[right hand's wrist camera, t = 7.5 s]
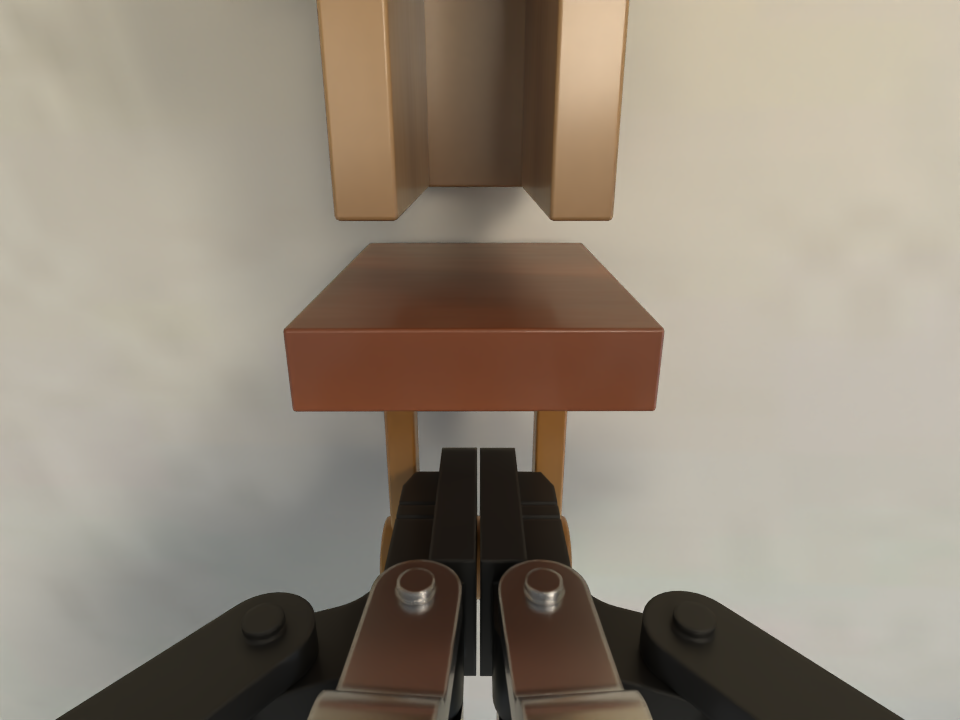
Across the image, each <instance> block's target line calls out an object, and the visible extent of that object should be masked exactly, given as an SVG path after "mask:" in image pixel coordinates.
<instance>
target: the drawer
mask: <svg viewBox="0 0 960 720" xmlns="http://www.w3.org/2000/svg"><path fill="white" fill-rule="evenodd" d="M317 12H318V24H319V36H320V48H321V60H322V72H323V84H324V96H325V108H326V120H327V131H328V143H329V155H330V167H331V179H332V191H333V203H334V215H335V218H336V219H337V220H339V221H394V220H396V219H398V218H399V217H400V216H401V215H402V214H403V213H404V211H405V210H406V209H407V208H408V207H409V206H410V205H411V204H412V203H413V202H414V201H415V200H416V199H417V198H418V197H419V196H420V195H421V194H422V193H423V192H424V191H425V190H426V189H427V188H428V187H523V188H524V189H525V190H526V192H527V193H528V194H529V195H530V196H531V197H532V199H533V200H534V201H535V202H536V203H537V204H538V206H539V207H540V208H541V209H542V210H543V211H544V213H545V214H546V215H547V216H548V217H549V218H550V219H551V220H553V221H609V220H611V219H612V217H613V208H614V195H615V182H616V169H617V156H618V143H619V130H620V117H621V103H622V90H623V77H624V64H625V51H626V38H627V25H628V12H629V0H317ZM283 332H284V340H285V349H286V357H287V365H288V373H289V382H290V390H291V398H292V406H293V410H294V411H384V419H385V435H386V451H387V467H388V483H389V499H390V515H391V516H389V517H387V519H386V521H385V524H384V528H383V533H382V541H381V552H380V574H381V573H382V572H384V569H385V564H386V559H387V555H388V550H389V546H390V541H391V537H392V532H393V528H394V523H395V519H396V514H397V510H398V505H399V501H400V496H401V492H402V487H403V485H404V484H405V483H406V482H407V481H408V480H409V479H410V478H411V477H412V476H413V474H414V473H415V472H420V469H419V445H418V420H417V411H534V429H533V458H532V472H541V473H542V474H543V475H544V476H545V477H546V478H547V479H548V480H549V481H550V482H551V483H552V484H553V485H554V488H555V493H556V498H557V505H558V507H559V512H560V519H561V521H562V526H563V531H564V535H565V540H566V545H567V549H568V554H569V559H570V564H571V568H572V556H571V542H570V534H569V528H568V524H567V521H566V519H565V517H564V516H561V512H562V494H563V476H564V458H565V441H566V423H567V411H654V410H655V408H656V401H657V392H658V383H659V374H660V366H661V357H662V348H663V339H664V328H663V327H662V326H661V325H660V324H659V323H658V322H657V321H656V320H655V319H654V318H653V317H652V316H651V315H650V314H649V313H648V312H647V311H646V310H645V309H644V308H643V307H642V306H641V305H640V304H639V302H638V301H637V300H636V299H635V298H634V297H633V296H632V295H631V294H630V293H629V292H628V291H627V290H626V289H625V288H624V287H623V286H622V285H621V284H620V283H619V282H618V281H617V280H616V279H615V277H614V276H613V275H612V274H611V273H610V272H609V271H608V270H607V269H606V268H605V267H604V266H603V265H602V264H601V263H600V262H599V261H598V260H597V259H596V258H595V257H594V256H593V255H592V254H591V252H590V251H589V250H588V249H587V248H586V247H585V246H584V245H583V244H582V243H370V244H369V245H368V246H367V247H366V248H365V249H364V250H363V251H362V252H361V253H360V254H359V255H358V256H357V257H356V258H355V259H354V260H353V261H352V262H351V263H350V264H349V265H348V266H347V267H346V268H345V269H344V270H343V271H342V272H341V273H340V274H339V275H338V276H337V277H336V278H335V279H334V280H333V281H332V282H331V283H330V284H329V285H328V286H327V287H326V288H325V289H324V290H323V291H322V292H321V293H320V294H319V295H318V296H317V297H316V298H315V299H314V300H313V301H312V302H311V303H310V304H309V305H308V306H307V307H306V308H305V309H304V310H303V311H302V312H301V313H300V314H299V315H298V316H297V317H296V318H295V319H294V320H293V321H292V322H291V323H290V324H289V325H288V326H287V327H286V328H285V329H284V331H283ZM477 599H480V516H477Z"/></svg>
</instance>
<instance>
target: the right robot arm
mask: <svg viewBox="0 0 960 720" xmlns="http://www.w3.org/2000/svg"><path fill="white" fill-rule="evenodd" d="M476 618H477V448H442V453H441V461H440V469H439V472H415V473H414V474H413V476H412V477H411V478H410V479H409V480H408V481H407V482H406V483H405V484H404V485H403V487H402V492H401V496H400V501H399V505H398V510H397V514H396V519H395V523H394V528H393V532H392V537H391V541H390V546H389V550H388V555H387V559H386V564H385V569H384V572H382V573H381V574H380V575H379V576H378V577H377V579H376V580H375V581H374V583H373V585H372V588H371V590H370V592H368V593H367V594H365V595H364V596H363V597H361V598H359V599H357V600H355V601H353V602H351V603H348V604H346V605H342V606H339V607H335V608H331V609H327V610H323V611H319V612H315V613H314V610H313V608H312V606H311V605H310V603H309V602H308V601H306V600H305V599H304V598H302V597H300V596H298V595H295V594H291V593H283V592H276V593H267V594H262V595H259V596H256V597H253V598H250V599H248V600H246V601H244V602H242V603H240V604H238V605H236V606H235V607H233V608H232V609H230V610H229V611H227V612H225V613H224V614H222V615H221V616H219V617H217V618H216V619H214V620H213V621H211V622H210V623H208V624H206V625H205V626H203V627H202V628H200V629H198V630H197V631H195V632H194V633H192V634H190V635H189V636H187V637H186V638H184V639H183V640H181V641H179V642H178V643H176V644H175V645H173V646H171V647H170V648H168V649H167V650H165V651H164V652H162V653H160V654H159V655H157V656H156V657H154V658H152V659H151V660H149V661H148V662H146V663H145V664H143V665H141V666H140V667H138V668H137V669H135V670H133V671H132V672H130V673H129V674H127V675H126V676H124V677H122V678H121V679H119V680H118V681H116V682H114V683H113V684H111V685H110V686H108V687H106V688H105V689H103V690H102V691H100V692H99V693H97V694H95V695H94V696H92V697H91V698H89V699H87V700H86V701H84V702H83V703H81V704H80V705H78V706H76V707H75V708H73V709H72V710H70V711H68V712H67V713H65V714H64V715H62V716H61V717H59V718H57V719H56V720H463V684H464V676H476ZM480 676H492V688H493V703H494V706H495V709H496V711H497V720H904V719H903V718H901V717H899V716H898V715H896V714H895V713H893V712H892V711H890V710H888V709H887V708H885V707H884V706H882V705H880V704H879V703H877V702H876V701H874V700H873V699H871V698H869V697H868V696H866V695H865V694H863V693H861V692H860V691H858V690H857V689H855V688H853V687H852V686H850V685H849V684H847V683H846V682H844V681H842V680H841V679H839V678H838V677H836V676H834V675H833V674H831V673H830V672H828V671H827V670H825V669H823V668H822V667H820V666H819V665H817V664H815V663H814V662H812V661H811V660H809V659H808V658H806V657H804V656H803V655H801V654H800V653H798V652H796V651H795V650H793V649H792V648H790V647H789V646H787V645H785V644H784V643H782V642H781V641H779V640H777V639H776V638H774V637H773V636H771V635H769V634H768V633H766V632H765V631H763V630H762V629H760V628H758V627H757V626H755V625H754V624H752V623H750V622H749V621H747V620H746V619H744V618H743V617H741V616H739V615H738V614H736V613H735V612H733V611H731V610H730V609H728V608H727V607H725V606H724V605H722V604H720V603H719V602H717V601H715V600H713V599H711V598H709V597H706V596H704V595H700V594H697V593H693V592H687V591H670V592H665V593H662V594H659V595H657V596H655V597H653V598H652V599H651V600H650V601H649V602H648V603H647V604H646V606H645V608H644V611H643V613H640V612H636V611H632V610H628V609H624V608H620V607H616V606H613V605H609V604H607V603H605V602H602V601H600V600H598V599H596V598H595V597H593V596H592V595H591V593H590V590H589V588H588V585H587V583H586V581H585V580H584V579H583V577H582V576H581V575H580V574H579V573H578V572H576V571H575V570H574V569H572V568H571V564H570V559H569V554H568V549H567V545H566V540H565V535H564V531H563V526H562V521H561V519H560V512H559V507H558V505H557V498H556V493H555V488H554V485H553V484H552V483H551V482H550V481H549V480H548V479H547V478H546V477H545V476H544V475H543V474H542V473H541V472H517V463H516V454H515V448H480Z"/></svg>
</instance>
